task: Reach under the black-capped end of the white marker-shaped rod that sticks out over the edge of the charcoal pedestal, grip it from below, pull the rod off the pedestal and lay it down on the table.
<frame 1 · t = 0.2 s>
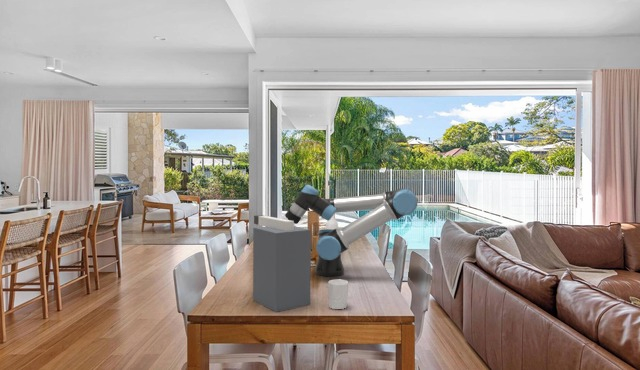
hand: (271, 248, 210), 15 cm above the table, tool tilted 35°, fingers open, 13 cm apart
pedestal: (281, 302, 173), on the table
white cup: (337, 307, 168), on the table
bottle: (331, 256, 268), on the table
marker rod: (272, 226, 177), point 30 cm above the table, touching pedestal
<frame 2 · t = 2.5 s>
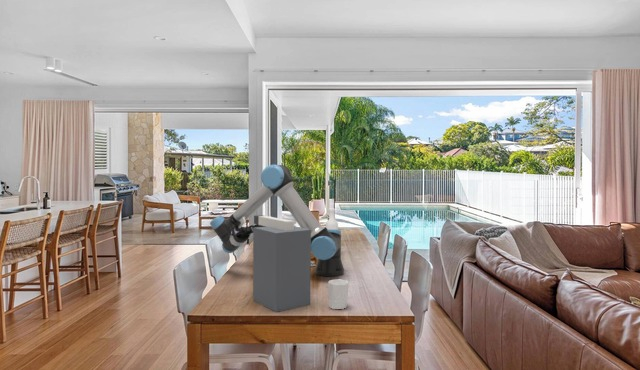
hand: (257, 218, 196), 31 cm above the table, tool pointing upward, fingers open, 13 cm apart
nothing on the table moved.
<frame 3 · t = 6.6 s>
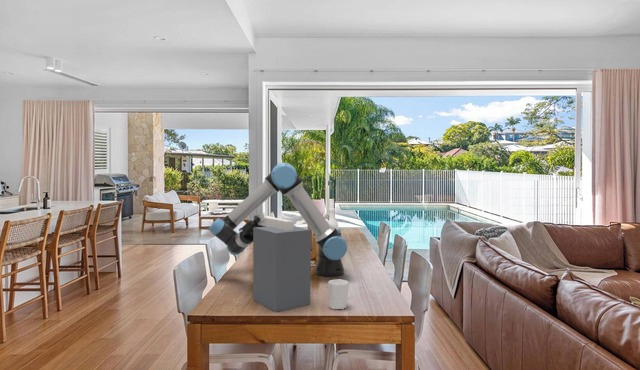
hand: (268, 215, 180), 34 cm above the table, tool pointing upward, fingers closed on marker rod, 4 cm apart
marker rod: (272, 226, 177), point 30 cm above the table, touching gripper, pedestal
everything else where it was.
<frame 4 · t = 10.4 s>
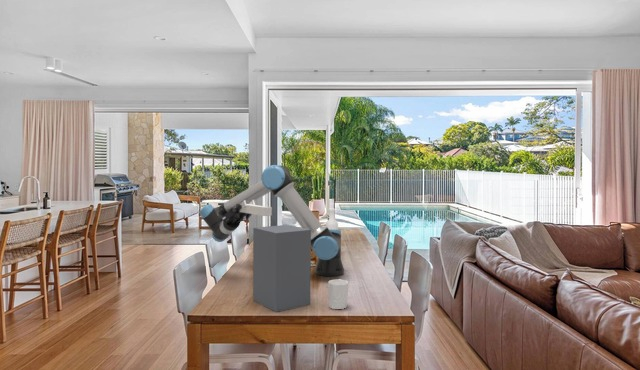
hand: (249, 202, 193), 39 cm above the table, tool pointing upward, fingers closed on marker rod, 4 cm apart
marker rod: (253, 213, 190), point 34 cm above the table, touching gripper
everything else where it was.
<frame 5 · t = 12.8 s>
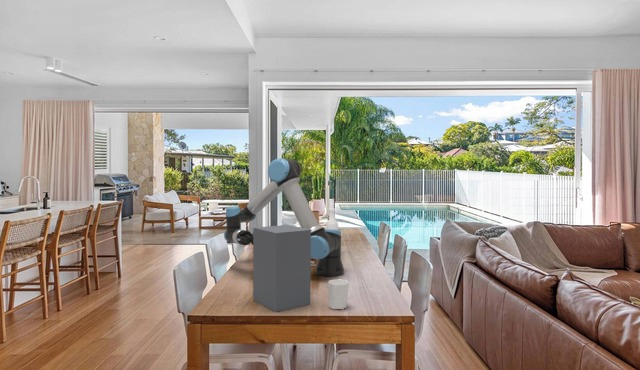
hand: (265, 241, 203), 20 cm above the table, tool horizontal, fingers closed on marker rod, 4 cm apart
marker rod: (266, 253, 202), point 14 cm above the table, tilted 27°, touching gripper
everything else where it was.
when the fingers open (13 cm above the table, at t = 14.5 s): marker rod drops 8 cm, on the table.
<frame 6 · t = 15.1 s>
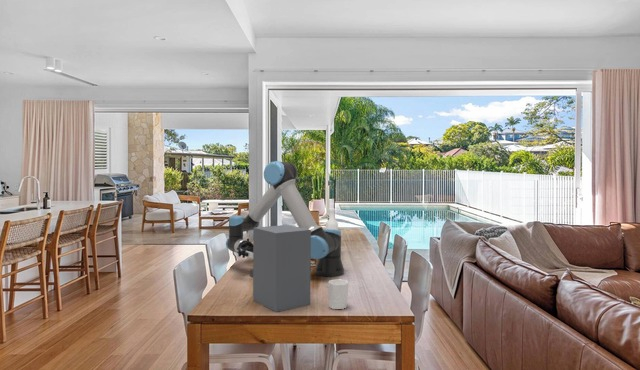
hand: (264, 254, 205), 13 cm above the table, tool horizontal, fingers open, 12 cm apart
marker rod: (265, 281, 206), on the table
everything else where it was.
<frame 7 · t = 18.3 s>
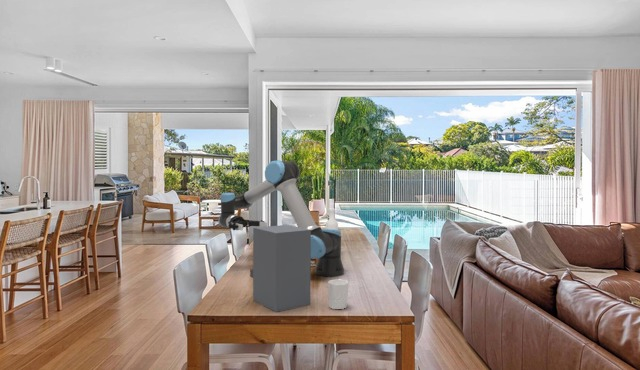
hand: (254, 226, 213), 25 cm above the table, tool horizontal, fingers open, 13 cm apart
nothing on the table moved.
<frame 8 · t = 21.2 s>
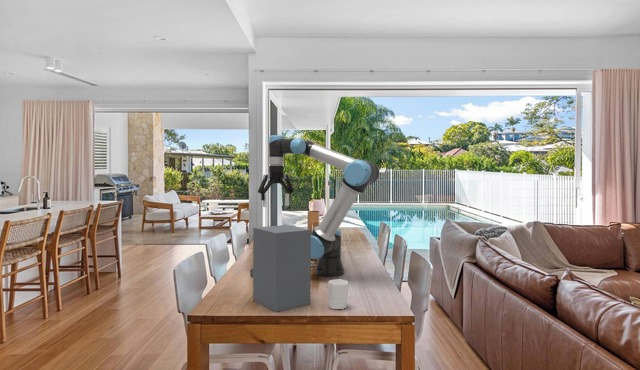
hand: (276, 206, 221), 35 cm above the table, tool pointing down, fingers open, 13 cm apart
nothing on the table moved.
at the end: marker rod on the table; marker rod touching table; the gripper is holding nothing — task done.
